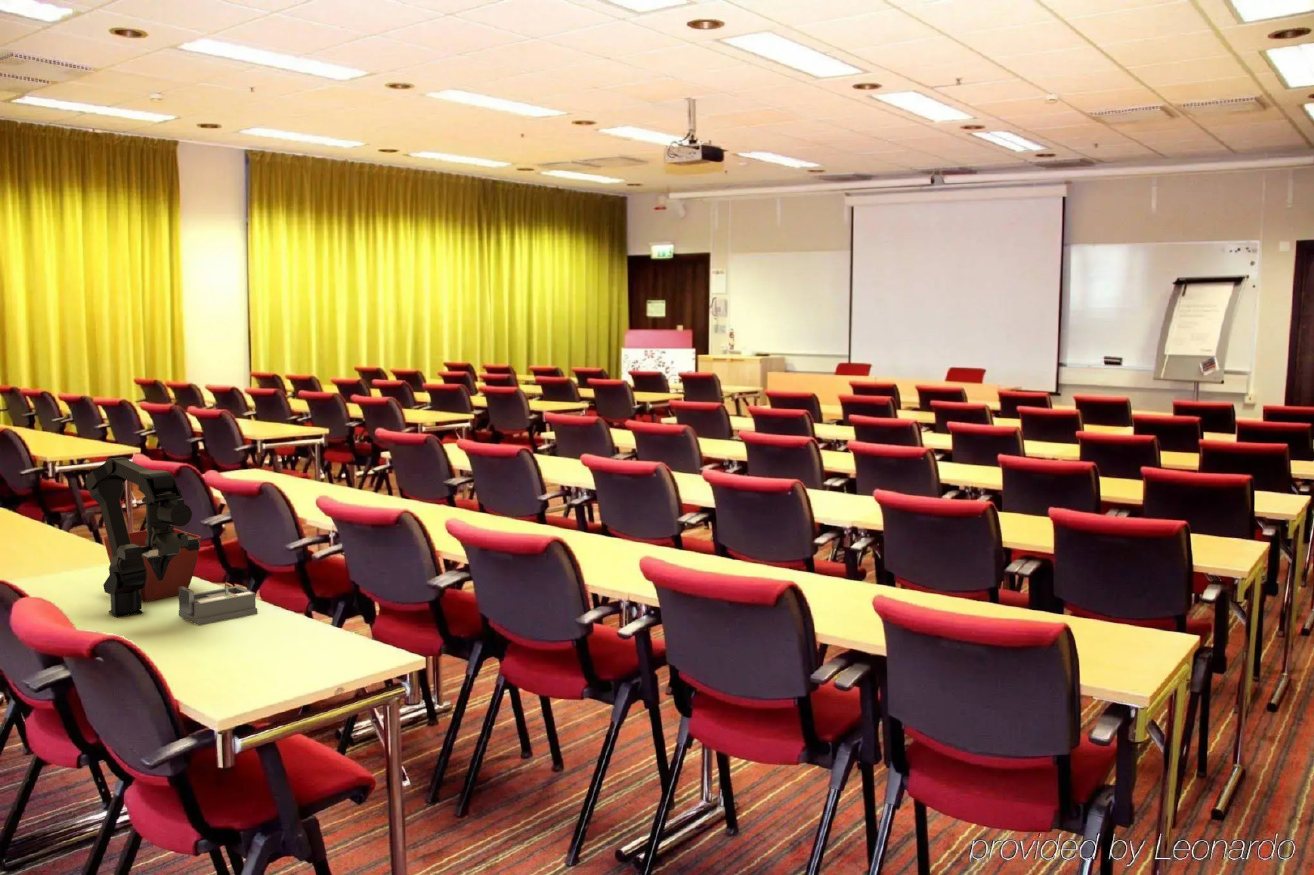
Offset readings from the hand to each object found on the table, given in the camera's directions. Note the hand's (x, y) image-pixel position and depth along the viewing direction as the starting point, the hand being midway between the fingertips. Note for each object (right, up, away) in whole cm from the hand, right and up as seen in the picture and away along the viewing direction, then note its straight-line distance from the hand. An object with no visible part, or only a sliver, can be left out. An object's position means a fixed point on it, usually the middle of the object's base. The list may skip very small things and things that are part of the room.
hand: (160, 580), depth 268 cm
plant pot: (-16, -8, +30) cm, 35 cm away
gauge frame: (+10, -11, +12) cm, 19 cm away
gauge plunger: (+9, -9, +9) cm, 16 cm away
